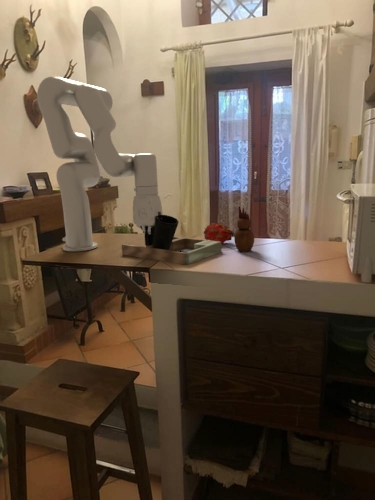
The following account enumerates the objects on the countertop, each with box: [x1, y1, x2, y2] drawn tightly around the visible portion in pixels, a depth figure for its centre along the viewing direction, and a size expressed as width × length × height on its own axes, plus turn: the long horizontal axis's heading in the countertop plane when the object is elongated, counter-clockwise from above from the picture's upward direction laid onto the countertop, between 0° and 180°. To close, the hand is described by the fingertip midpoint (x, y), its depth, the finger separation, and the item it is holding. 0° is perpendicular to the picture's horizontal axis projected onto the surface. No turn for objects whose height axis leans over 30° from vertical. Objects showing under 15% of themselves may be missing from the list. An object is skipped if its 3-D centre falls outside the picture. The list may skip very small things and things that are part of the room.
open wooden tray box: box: [121, 236, 223, 266], centre depth 133 cm, size 28×20×4 cm
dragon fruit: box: [203, 222, 235, 245], centre depth 145 cm, size 8×8×12 cm
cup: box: [152, 214, 179, 250], centre depth 130 cm, size 8×8×12 cm
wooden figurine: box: [233, 206, 255, 253], centre depth 132 cm, size 7×6×15 cm
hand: (150, 244), depth 135 cm, fingers closed
